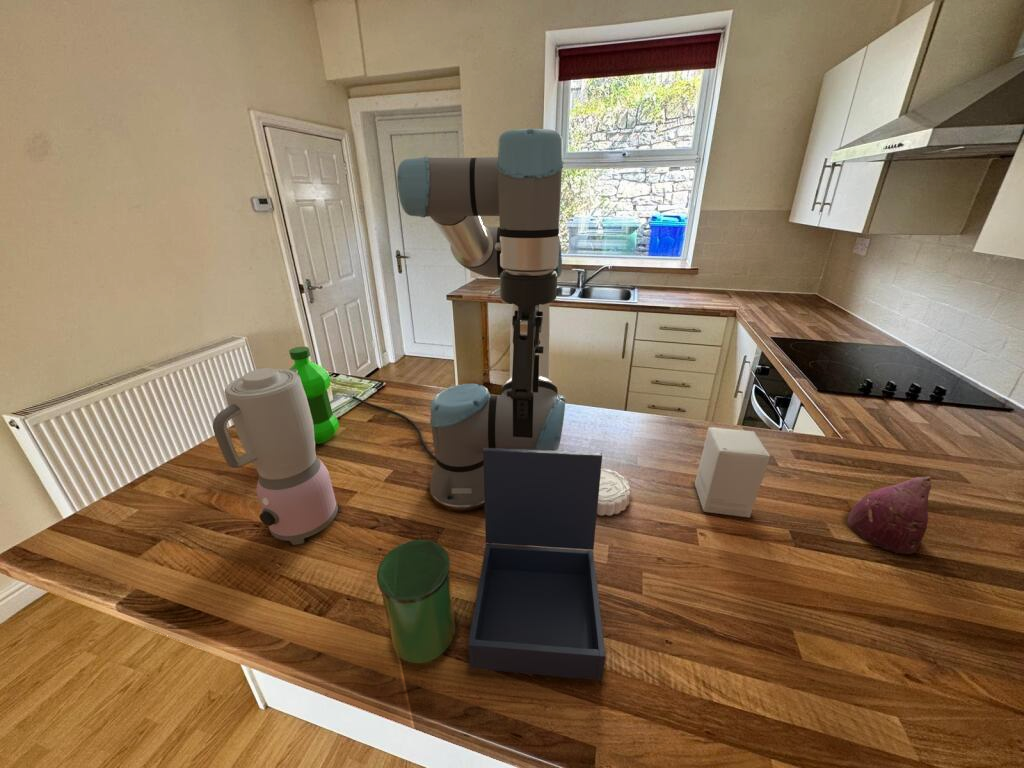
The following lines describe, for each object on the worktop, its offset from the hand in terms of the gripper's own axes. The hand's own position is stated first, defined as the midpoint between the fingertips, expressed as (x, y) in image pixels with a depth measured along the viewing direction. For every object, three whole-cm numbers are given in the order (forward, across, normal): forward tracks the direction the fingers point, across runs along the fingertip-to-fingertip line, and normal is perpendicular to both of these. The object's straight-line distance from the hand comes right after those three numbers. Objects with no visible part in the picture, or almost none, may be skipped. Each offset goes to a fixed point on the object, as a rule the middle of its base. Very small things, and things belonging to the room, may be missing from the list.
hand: (526, 411), depth 61 cm
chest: (+28, +14, +3) cm, 31 cm away
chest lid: (+13, +5, +3) cm, 14 cm away
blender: (+28, +1, -44) cm, 52 cm away
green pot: (+28, +18, -13) cm, 36 cm away
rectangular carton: (+28, -16, +40) cm, 51 cm away
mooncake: (+28, -14, +15) cm, 35 cm away
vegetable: (+28, -10, +67) cm, 73 cm away
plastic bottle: (+28, -29, -57) cm, 70 cm away
